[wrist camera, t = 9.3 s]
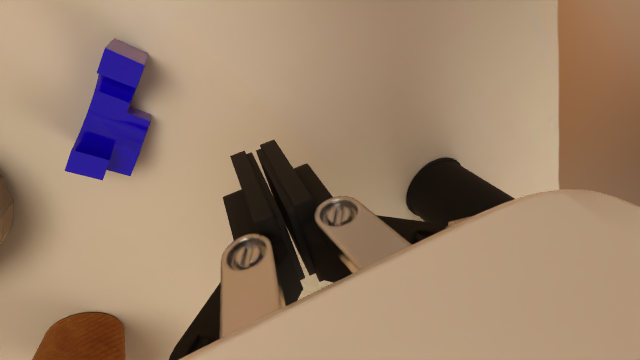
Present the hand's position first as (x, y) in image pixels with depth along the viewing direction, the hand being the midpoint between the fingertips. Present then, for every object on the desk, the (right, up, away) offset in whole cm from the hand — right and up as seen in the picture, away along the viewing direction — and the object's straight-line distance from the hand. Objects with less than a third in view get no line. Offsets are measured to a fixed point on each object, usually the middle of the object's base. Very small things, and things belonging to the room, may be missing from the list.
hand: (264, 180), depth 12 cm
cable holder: (-12, +5, +11) cm, 17 cm away
